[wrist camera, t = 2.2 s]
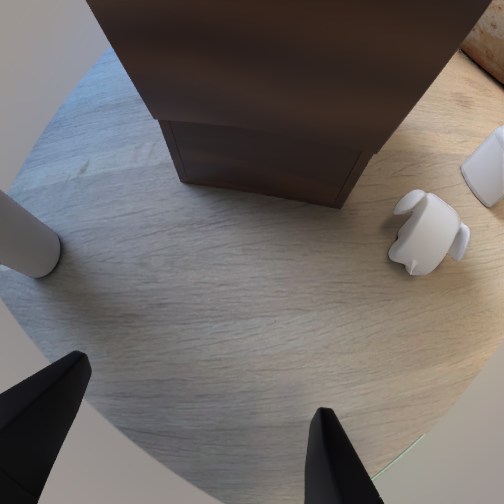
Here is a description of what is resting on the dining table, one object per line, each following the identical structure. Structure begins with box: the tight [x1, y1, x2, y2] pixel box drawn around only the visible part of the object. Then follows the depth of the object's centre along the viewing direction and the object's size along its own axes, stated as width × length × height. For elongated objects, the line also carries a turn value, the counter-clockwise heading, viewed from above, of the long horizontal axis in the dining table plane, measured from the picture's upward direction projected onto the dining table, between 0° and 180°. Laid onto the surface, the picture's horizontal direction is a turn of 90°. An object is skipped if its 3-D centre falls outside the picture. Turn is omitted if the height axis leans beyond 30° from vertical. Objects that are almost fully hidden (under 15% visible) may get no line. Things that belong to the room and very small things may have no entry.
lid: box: [86, 0, 493, 154], centre depth 10 cm, size 14×14×1 cm
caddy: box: [158, 120, 374, 209], centre depth 24 cm, size 14×14×8 cm
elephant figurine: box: [388, 189, 471, 276], centre depth 22 cm, size 7×8×6 cm
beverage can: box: [0, 190, 60, 278], centre depth 18 cm, size 5×5×12 cm
